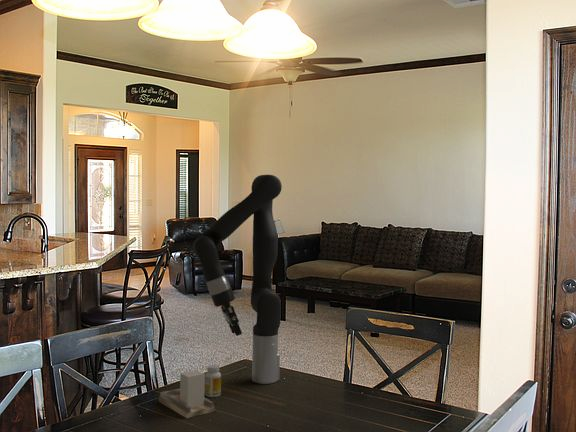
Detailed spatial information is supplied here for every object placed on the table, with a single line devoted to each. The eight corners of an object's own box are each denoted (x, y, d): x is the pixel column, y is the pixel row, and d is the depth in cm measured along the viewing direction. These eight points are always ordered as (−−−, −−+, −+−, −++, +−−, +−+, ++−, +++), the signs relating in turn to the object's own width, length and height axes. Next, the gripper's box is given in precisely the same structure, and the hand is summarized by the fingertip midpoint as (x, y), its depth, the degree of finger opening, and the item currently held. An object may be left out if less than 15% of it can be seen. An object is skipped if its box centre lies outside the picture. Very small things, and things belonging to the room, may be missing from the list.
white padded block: (195, 400, 198) (196, 369, 198) (204, 405, 194) (204, 373, 194) (179, 404, 194) (179, 372, 194) (187, 409, 190) (187, 377, 190)
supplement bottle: (222, 392, 211) (222, 364, 211) (218, 397, 206) (219, 369, 206) (206, 391, 212) (207, 363, 212) (203, 397, 207) (203, 368, 206)
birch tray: (186, 396, 207) (186, 387, 207) (214, 411, 193) (214, 401, 193) (158, 401, 201) (159, 392, 201) (186, 418, 187) (186, 408, 187)
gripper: (233, 287, 210) (250, 331, 210) (227, 285, 223) (243, 327, 224) (212, 295, 208) (230, 340, 208) (208, 293, 222) (224, 335, 222)
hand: (237, 333), depth 216 cm, fingers open, 8 cm apart
